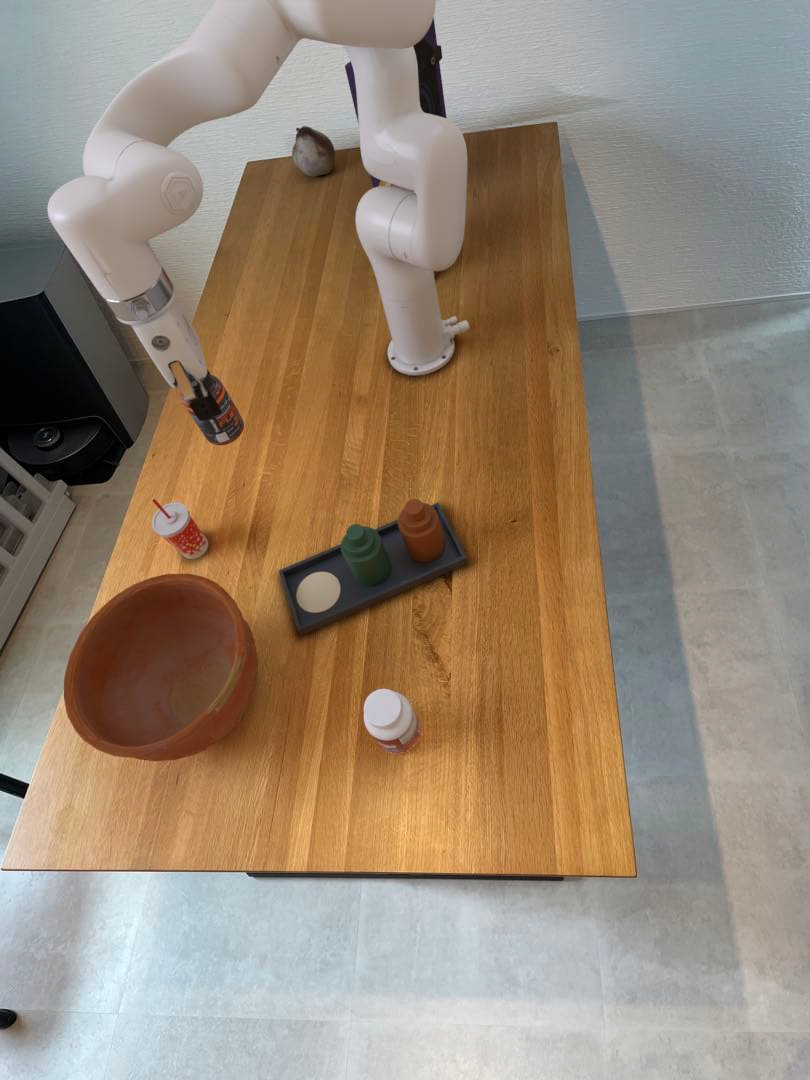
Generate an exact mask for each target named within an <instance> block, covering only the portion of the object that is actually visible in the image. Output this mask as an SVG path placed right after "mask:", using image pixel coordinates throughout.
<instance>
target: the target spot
mask: <svg viewBox="0 0 810 1080" xmlns="http://www.w3.org/2000/svg"><path fill="white" fill-rule="evenodd" d="M340 591H341V587H340V583H339V581H338V579H337V578H336V577H335V576H334V575H332V574H331V573H328V572H316V573H313V574H311V575H309V576H307V577H306V578H305V579H304V580H303V581H302V582H301V583H300V585H299V587H298V589H297V595H296V597H297V601H298V604H299V605H300V607H301V608H302V609H304V610H305V611H307V612H311V613H320V612H323V611H326V610H328V609H329V608H331V607H332V606H333V605H334V604H335V603H336V602H337V600H338V598H339V596H340Z"/></svg>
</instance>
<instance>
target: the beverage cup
mask: <svg viewBox="0 0 810 1080" xmlns="http://www.w3.org/2000/svg"><path fill="white" fill-rule="evenodd" d="M151 501H152V503H153V504H154V505H155V506H156V507H157V508H158V509H157V510H156V512H155V513H154V514H153V516H152V519H151V528H152V530H153V531H154V533H155V534H156V535H158V536H160V537H161V538H163V539H164V540H166V542H167V543H169V544H170V545H171V546H172V547H173V548H174V549H175V550H177V551H178V552H179V553H180V554H181V555H182V556H184V557H185V558H186V559H188V560H195V559H198V558H200V557H202V556H203V555H204V554H205V553H206V552H207V550H208V548H209V540H208V539H207V537H206V536H205V535H204V533H203V532H202V530H201V529H200V527H199V526H198V524H197V523H196V521H195V520H194V519H193V517H192V516H191V511H190V510H189V509H188V508H187V506H186V505H185V504H184V503H182V502H179V501H177V502H176V501H175V502H174V501H173V502H168V503H166V504H163V506H162V505H161V504H160V503H159V502H158V501H157V500H156V499H155V498H153V499H152V500H151Z"/></svg>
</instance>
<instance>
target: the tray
mask: <svg viewBox="0 0 810 1080" xmlns="http://www.w3.org/2000/svg"><path fill="white" fill-rule="evenodd" d="M430 505H431V506H432V507H434V508H435V510H436V511H437V513H438V517H439V520H440V524H441V528H442V532H443V536H444V539H445V549H444V551H443V553H442V554H441V556H440V557H439V558H437V559H436V560H434V561H431V562H426V563H423V562H418V561H415V560H414V559H412V558H411V557H410V555H409V554H408V551H407V549H406V546H405V543H404V540H403V538H402V535H401V532H400V529H399V527H398V519H396V520H394V521H391V522H388V523H386V524H384V525H382V526H379V527H377V528H375V529H374V530H376V531H377V532H378V534H379V535H380V538H381V540H382V542H383V545H384V547H385V549H386V552H387V554H388V557H389V559H390V561H391V572H390V575H389V576H388V578H387V579H386V580H385V581H384V582H382V583H381V584H378V585H375V586H365V585H362V584H360V583H359V582H358V581H357V580H356V579H355V577H354V575H353V573H352V571H351V569H350V567H349V565H348V564H347V562H346V560H345V558H344V556H343V554H342V552H341V543H339V544H337V545H335V546H333V547H331V548H328V549H326V550H323V551H321V552H319V553H317V554H314V555H311V556H309V557H307V558H305V559H303V560H300V561H298V562H295V563H293V564H291V565H288V566H286V567H284V568H282V569H279V570H278V573H279V577H280V580H281V583H282V587H283V589H284V590H283V591H284V593H285V596H286V599H287V602H288V605H289V608H290V613H291V615H292V618H293V621H294V624H295V628H296V630H297V632H298V633H299V634H300V636H301V637H302V636H305V635H307V634H309V633H311V632H312V633H313V632H314V631H316V630H319V629H321V628H323V627H325V626H328V625H331V624H332V623H335V622H336V621H340V620H342V619H345V618H347V617H349V616H351V615H353V614H356V613H358V612H360V611H362V610H365V609H367V608H369V607H372V606H374V605H377V604H379V603H381V602H383V601H386V600H388V599H390V598H392V597H395V596H397V595H401V594H402V593H404V592H406V591H409V590H411V589H414V588H416V587H418V586H420V585H423V584H425V583H428V582H430V581H433V580H434V579H436V578H439V577H441V576H443V575H446V574H448V573H450V572H452V571H455V570H457V569H460V568H462V567H465V566H467V565H468V564H469V562H468V557H467V555H466V553H465V552H464V549H463V547H462V546H461V543H460V542H459V539H458V537H457V535H456V534H455V531H454V530H453V528H452V526H451V524H450V522H449V520H448V518H447V517H446V515H445V512H444V510H443V509H442V506H441V504H440V503H439V502H436V503H433V504H430ZM316 572H328V573H331V574H332V575H334V576H335V577H336V578H337V579H338V581H339V583H340V587H341V591H340V596H339V598H338V600H337V602H336V603H335V604H334V605H333V606H332V607H331V608H329V609H328V610H326V611H323V612H320V613H311V612H307V611H305V610H304V609H302V608H301V607H300V605H299V604H298V601H297V597H296V595H297V589H298V587H299V585H300V583H301V582H302V581H303V580H304V579H305V578H306V577H307V576H309V575H311V574H313V573H316Z"/></svg>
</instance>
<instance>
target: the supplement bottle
mask: <svg viewBox="0 0 810 1080" xmlns="http://www.w3.org/2000/svg"><path fill="white" fill-rule="evenodd" d="M186 374H187V376H189V375H191V374H189V373H188V372H187V373H186ZM201 381H202V383H203V384H204V386H205V388H206V390H210V392H211V394H212V395H213V397H214V399H215V400H216V402H217V403H218V405H219V407H220V408H221V414H219V415H216V416H214V417H211V418H209V419H206V420H204V421H200V420H199V419H198V418H197V416H196V415H195V413H194V412H193V410H192V409H191V407H190V406H189V404H188V403H187V401H186V399H185V397H184V395H183V394H182V392H181V391H180V400H181V403H182V404H183V405H184V407H185V409H186V411H187V412H188V414H189V415H190V417H191V418H192V420H193V421H194V423H195V424H196V425H197V427H198V429H199V430H200V431H201V433H202V435H203V436H204V438H205V439H206V440H207V441H208V443H210V444H212V445H215V446H226V445H229V444H232V443H234V442H235V441H236V440H237V439H239V438H240V437H241V435H242V433H243V432H244V428H245V422H244V419H243V417H242V415H241V413H240V411H239V409H238V408H237V407H236V405H235V403H234V401H233V400H232V398H231V396H230V394H229V393H228V391H227V390H226V387H225V386H224V385H223V383H222V381H221V379H219V377H217V376H216V375H213V374H211V373H210V374H208V373H207V375H206V377H203V378H201ZM191 385H192V387H193V388H194V389H197V388H198V389H199V387H198V385H197V383H196V381H193V382H191Z"/></svg>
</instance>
